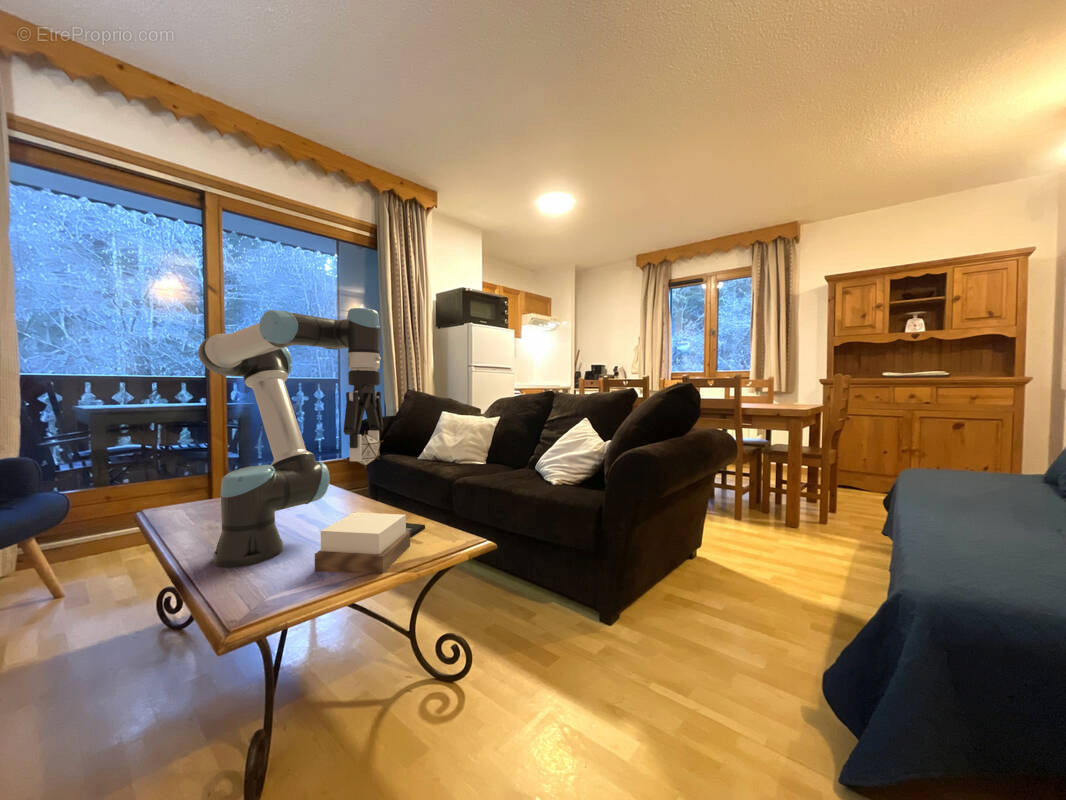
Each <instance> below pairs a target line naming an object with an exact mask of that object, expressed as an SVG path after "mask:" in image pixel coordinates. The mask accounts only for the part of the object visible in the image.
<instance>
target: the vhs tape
mask: <svg viewBox="0 0 1066 800" xmlns="http://www.w3.org/2000/svg"><path fill="white" fill-rule="evenodd" d="M425 529H426V524H422V523H421V524H420V523H419V524H418V523H411V522H410V523H409V522H406V531H409V532H410V539H412V538H413V537H414V536H416V535H417V534H419V533H421V532H422V531H423V530H425Z"/></svg>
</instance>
